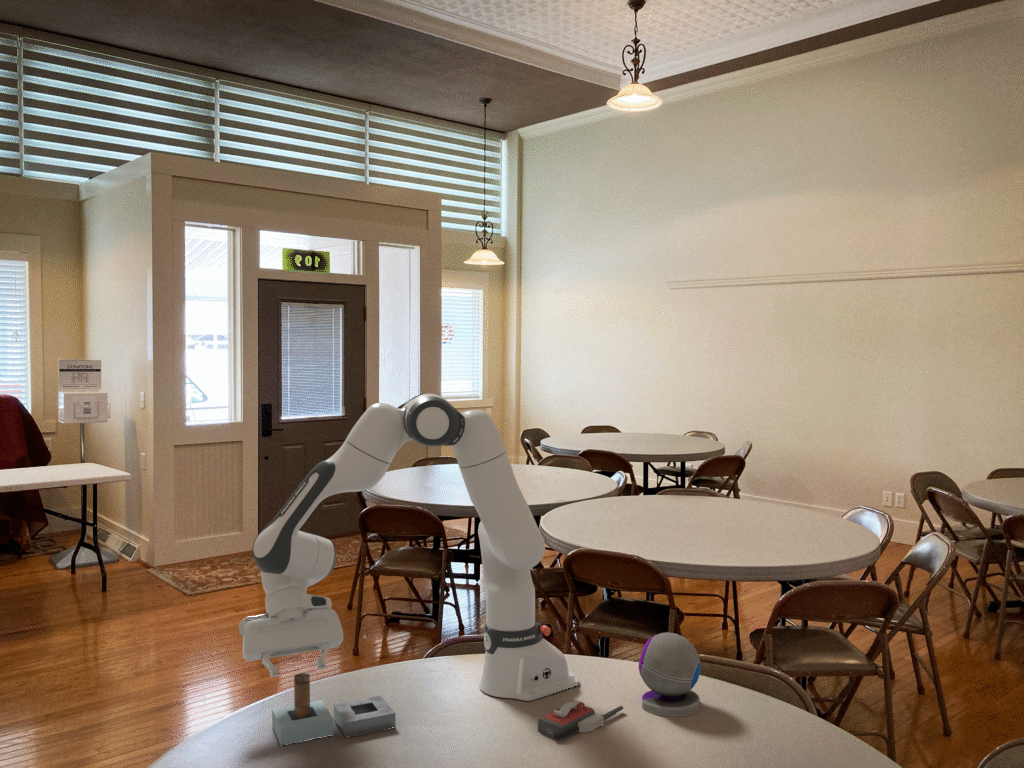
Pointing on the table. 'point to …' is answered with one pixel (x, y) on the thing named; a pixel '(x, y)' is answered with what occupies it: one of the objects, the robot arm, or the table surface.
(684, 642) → the webcam
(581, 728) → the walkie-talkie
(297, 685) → the peg
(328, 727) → the block
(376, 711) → the socket block
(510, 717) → the table surface
